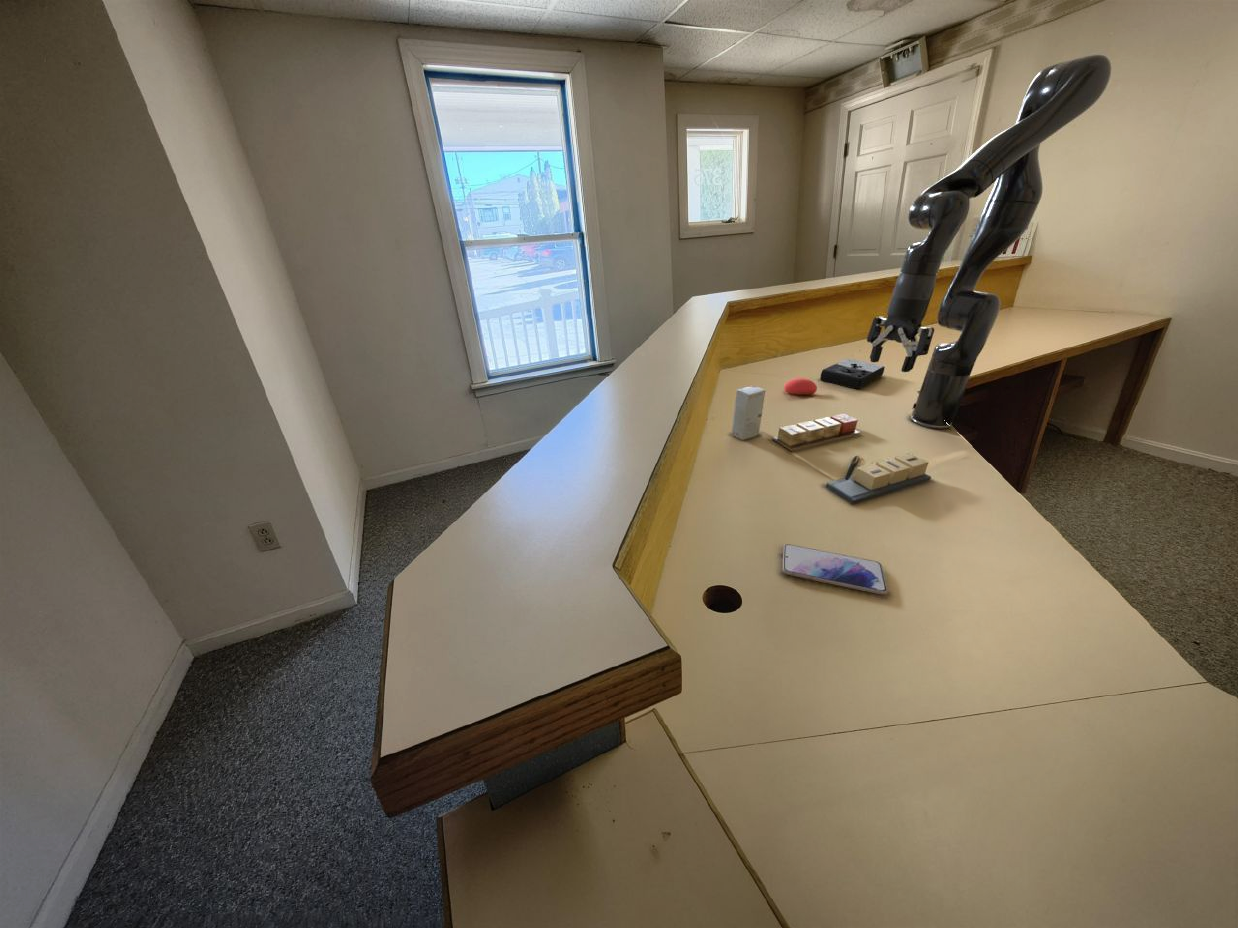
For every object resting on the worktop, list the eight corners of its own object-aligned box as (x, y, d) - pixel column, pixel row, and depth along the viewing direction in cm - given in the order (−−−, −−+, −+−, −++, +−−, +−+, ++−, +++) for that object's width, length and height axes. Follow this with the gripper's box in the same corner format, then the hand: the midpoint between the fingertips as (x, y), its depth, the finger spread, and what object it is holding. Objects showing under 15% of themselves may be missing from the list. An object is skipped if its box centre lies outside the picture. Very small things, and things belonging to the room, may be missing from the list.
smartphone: (888, 593, 67) (782, 570, 71) (886, 597, 68) (781, 575, 72) (881, 561, 73) (784, 542, 77) (879, 565, 73) (783, 546, 78)
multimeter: (819, 380, 152) (822, 365, 149) (844, 368, 163) (847, 354, 160) (858, 390, 143) (862, 375, 141) (882, 376, 154) (887, 362, 152)
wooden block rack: (900, 465, 102) (906, 449, 100) (929, 480, 96) (936, 464, 94) (825, 487, 94) (829, 470, 92) (852, 504, 89) (857, 486, 87)
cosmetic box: (743, 440, 113) (749, 395, 107) (730, 434, 117) (735, 389, 111) (760, 434, 116) (767, 389, 110) (746, 428, 120) (753, 384, 114)
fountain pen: (846, 486, 94) (848, 480, 93) (840, 485, 95) (842, 479, 94) (859, 458, 104) (861, 453, 103) (854, 457, 105) (855, 451, 104)
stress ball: (809, 403, 138) (821, 385, 136) (782, 389, 139) (794, 371, 137) (807, 403, 142) (818, 385, 141) (781, 389, 144) (792, 371, 142)
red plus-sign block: (841, 423, 119) (844, 413, 118) (855, 430, 115) (858, 419, 114) (828, 426, 118) (830, 415, 116) (841, 433, 114) (844, 422, 112)
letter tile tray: (838, 425, 121) (841, 411, 119) (859, 435, 115) (863, 421, 113) (771, 440, 113) (774, 425, 111) (790, 452, 108) (794, 436, 106)
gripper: (954, 299, 96) (927, 373, 104) (895, 290, 108) (875, 357, 116) (930, 301, 94) (905, 377, 101) (872, 291, 105) (853, 360, 113)
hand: (889, 366), depth 108 cm, fingers open, 8 cm apart
